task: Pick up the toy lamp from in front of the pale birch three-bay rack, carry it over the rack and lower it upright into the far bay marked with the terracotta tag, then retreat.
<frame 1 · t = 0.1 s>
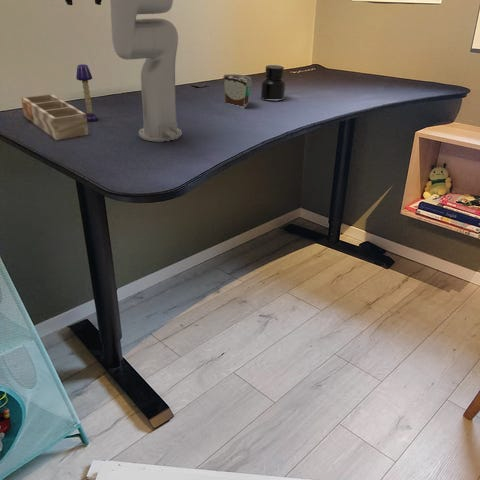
hand: (84, 4, 152), 31 cm above the table, fingers open, 9 cm apart
ink bottle: (272, 99, 183), on the table
toy lamp: (89, 120, 149), on the table
food container: (239, 105, 173), on the table
rack: (55, 125, 143), on the table
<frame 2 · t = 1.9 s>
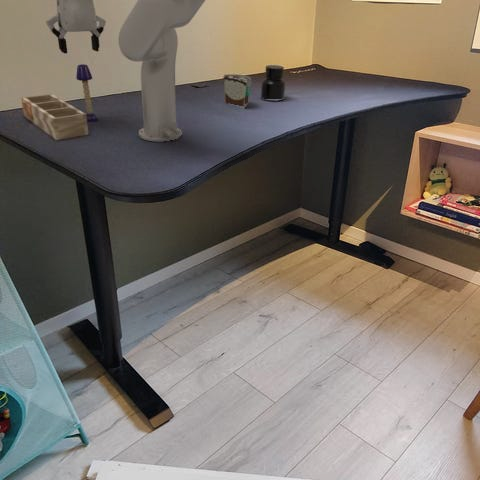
hand: (80, 51, 139), 20 cm above the table, fingers open, 9 cm apart
nothing on the table moved.
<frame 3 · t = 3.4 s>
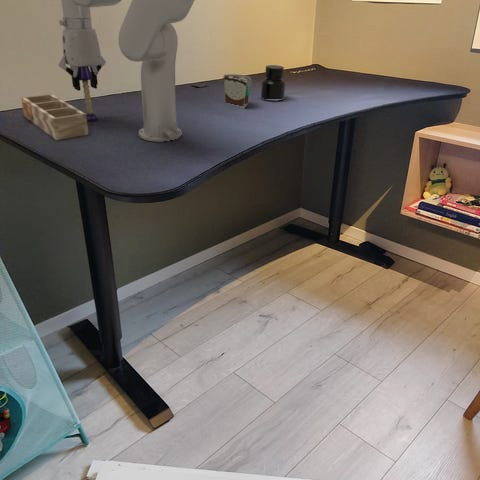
hand: (85, 88, 144), 10 cm above the table, fingers closed on toy lamp, 4 cm apart
toy lamp: (89, 120, 149), on the table, touching gripper
everything else where it was.
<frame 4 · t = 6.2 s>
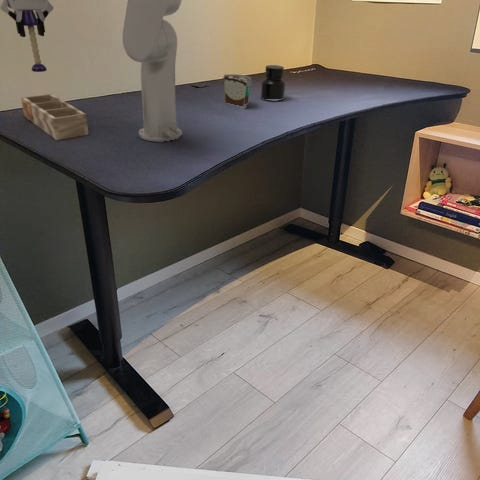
hand: (32, 35, 136), 24 cm above the table, fingers closed on toy lamp, 4 cm apart
toy lamp: (38, 71, 141), point 14 cm above the table, touching gripper
everything else where it was.
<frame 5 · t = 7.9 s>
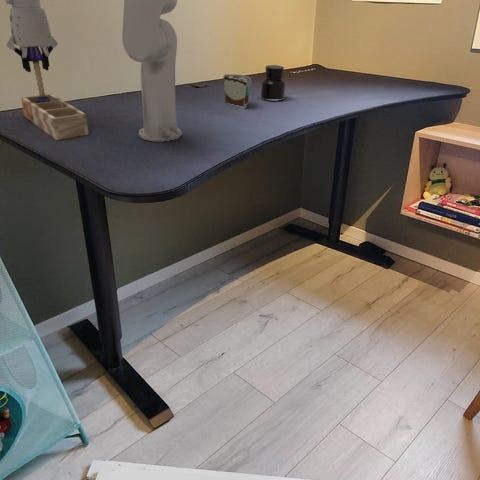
hand: (36, 69, 141), 15 cm above the table, fingers closed on toy lamp, 4 cm apart
toy lamp: (42, 103, 146), point 5 cm above the table, touching gripper
everything else where it was.
when the fingers open (11 cm above the table, at t = 9.0 s): toy lamp drops 1 cm, resting in rack.
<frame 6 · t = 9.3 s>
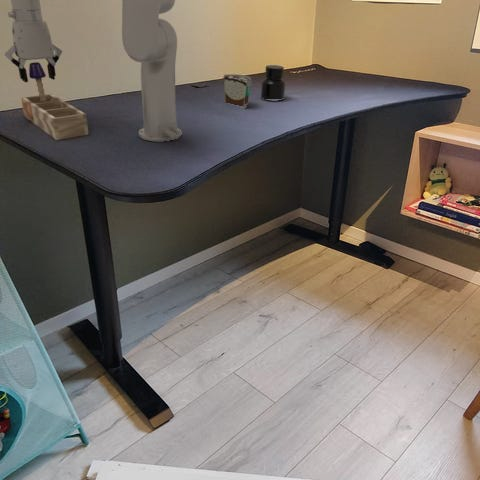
hand: (38, 79, 143), 12 cm above the table, fingers open, 7 cm apart
toy lamp: (46, 118, 149), resting in rack
everything else where it was.
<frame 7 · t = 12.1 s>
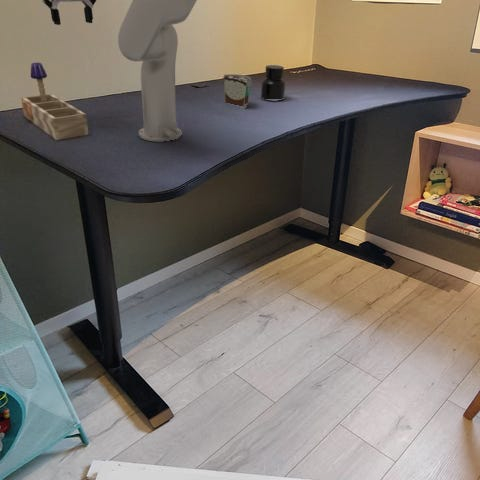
hand: (73, 23, 136), 28 cm above the table, fingers open, 9 cm apart
nothing on the table moved.
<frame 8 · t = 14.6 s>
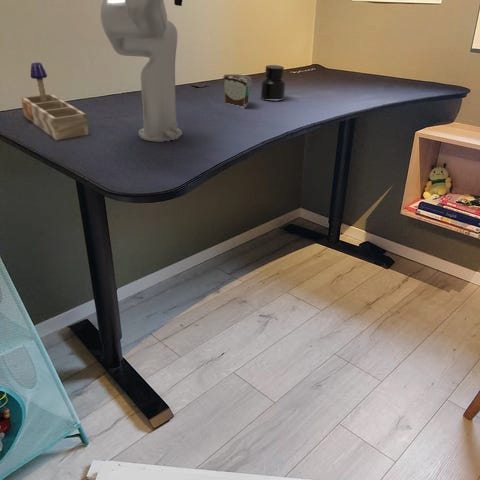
hand: (164, 5, 139), 33 cm above the table, fingers open, 9 cm apart
nothing on the table moved.
at the end: toy lamp 0.3 cm from the target spot on the rack, point 0.0 cm above the rack's base; toy lamp tilted 0°; the gripper is holding nothing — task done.
